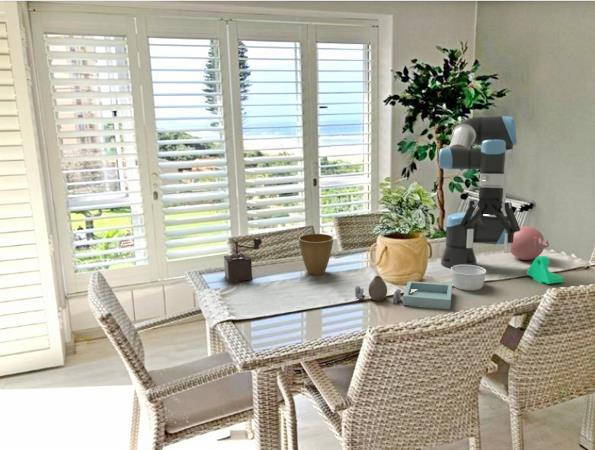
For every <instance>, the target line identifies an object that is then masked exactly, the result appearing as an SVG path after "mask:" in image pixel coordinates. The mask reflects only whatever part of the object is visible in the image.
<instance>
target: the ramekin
mask: <svg viewBox="0 0 595 450" xmlns="http://www.w3.org/2000/svg"><path fill="white" fill-rule="evenodd" d="M450 273H451V283H452V286H454V287H455V288H456V289H460V290H462V291H463V290H464V291H478V290H481V289H482V288H483V286H484V285H485V280H486V279H485V278H486V275H487V270H486V269H485V268H484V267H481V266H478V265H476V266H475V265H456V266H453V267H451V268H450Z"/></svg>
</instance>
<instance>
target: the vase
mask: <svg viewBox="0 0 595 450" xmlns="http://www.w3.org/2000/svg"><path fill="white" fill-rule="evenodd" d="M387 295H388V286H387V284H386V282H385V280H383V278H382V276H381V275H375V276H374V277H373V279H372V280H371V282H370V283H369V285H368V296H369V297H370V299H372V300H373V301H376V302H380V301H383V300H384V299H385V298H386V297H387Z"/></svg>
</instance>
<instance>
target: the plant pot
mask: <svg viewBox="0 0 595 450" xmlns="http://www.w3.org/2000/svg"><path fill="white" fill-rule="evenodd" d="M298 242H299V248H300V252H301V257H302V261H303V263H304V265H305V269H306V271H307V274H309V275H311V276H321V274H322V275H324V274H325V272H326V270H327V268H328V264H329V262H330V259H331V253H332V250H333V249H332V248H333V243H334V236H332V235H330V234H325V233H307V234H303V235H300V236H299V237H298Z"/></svg>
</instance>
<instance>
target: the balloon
mask: <svg viewBox="0 0 595 450" xmlns="http://www.w3.org/2000/svg"><path fill="white" fill-rule="evenodd" d="M519 227H520V231H518V232H515V233H514V238H513V243H511V247H510V253H511V255H512V256H514V257H515V258H516V259H519V260H522V261H532V260H535V258H536V257H540V255H542V253H543V252H544V250H545V249H546V248H548V247H549V246H550V243H549V240H548V239H545V238H544V235H543V234H542V232H541V231H540V230H539V229H537V228H535V227H533V226H529V225H528V226H527V225H523V226H519Z"/></svg>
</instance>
